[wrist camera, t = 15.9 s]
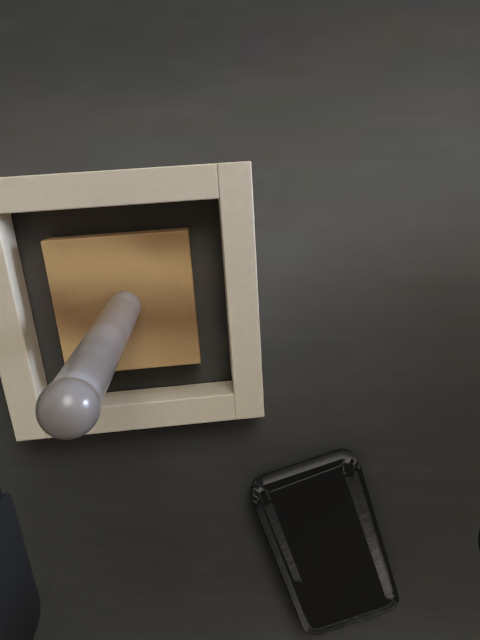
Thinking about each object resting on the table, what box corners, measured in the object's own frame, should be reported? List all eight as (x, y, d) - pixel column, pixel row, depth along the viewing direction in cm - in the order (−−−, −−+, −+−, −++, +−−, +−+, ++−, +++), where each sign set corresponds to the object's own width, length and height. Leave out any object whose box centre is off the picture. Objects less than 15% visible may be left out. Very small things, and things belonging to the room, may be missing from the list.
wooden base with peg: (48, 237, 26) (-117, 309, 12) (188, 227, 27) (178, 286, 13) (73, 365, 29) (-43, 543, 15) (200, 354, 29) (202, 516, 15)
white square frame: (-31, 179, 25) (-50, 180, 23) (247, 161, 26) (251, 160, 24) (27, 424, 30) (15, 441, 28) (260, 402, 31) (264, 417, 29)
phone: (357, 453, 31) (402, 608, 36) (351, 444, 32) (396, 595, 37) (246, 490, 31) (306, 639, 36) (245, 480, 32) (303, 626, 37)
